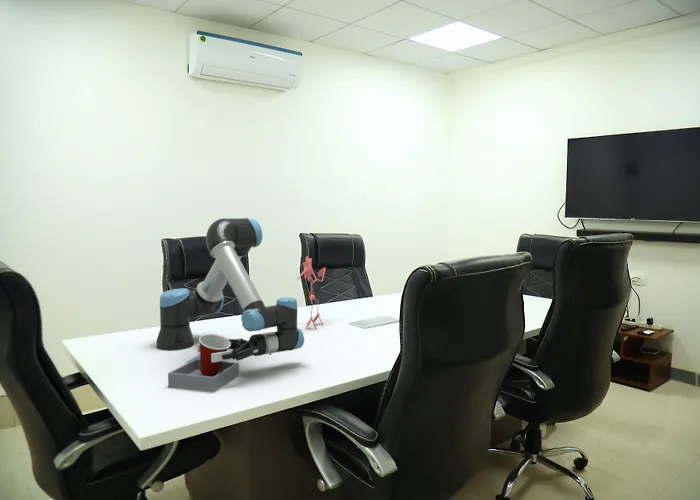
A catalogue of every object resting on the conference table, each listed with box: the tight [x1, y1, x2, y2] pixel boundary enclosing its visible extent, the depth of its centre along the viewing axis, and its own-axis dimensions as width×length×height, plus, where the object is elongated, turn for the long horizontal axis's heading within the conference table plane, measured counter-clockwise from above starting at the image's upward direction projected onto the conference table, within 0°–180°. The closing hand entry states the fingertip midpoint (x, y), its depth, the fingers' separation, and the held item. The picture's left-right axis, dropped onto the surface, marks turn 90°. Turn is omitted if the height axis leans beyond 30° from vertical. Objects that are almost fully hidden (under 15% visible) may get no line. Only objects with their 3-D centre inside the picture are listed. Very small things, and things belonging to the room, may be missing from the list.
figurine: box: [296, 255, 327, 330], centre depth 251 cm, size 15×26×35 cm, turn 163°
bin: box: [167, 359, 240, 393], centre depth 171 cm, size 17×17×4 cm
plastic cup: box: [198, 333, 231, 376], centre depth 173 cm, size 11×11×12 cm
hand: (204, 353), depth 170 cm, fingers open, 13 cm apart
